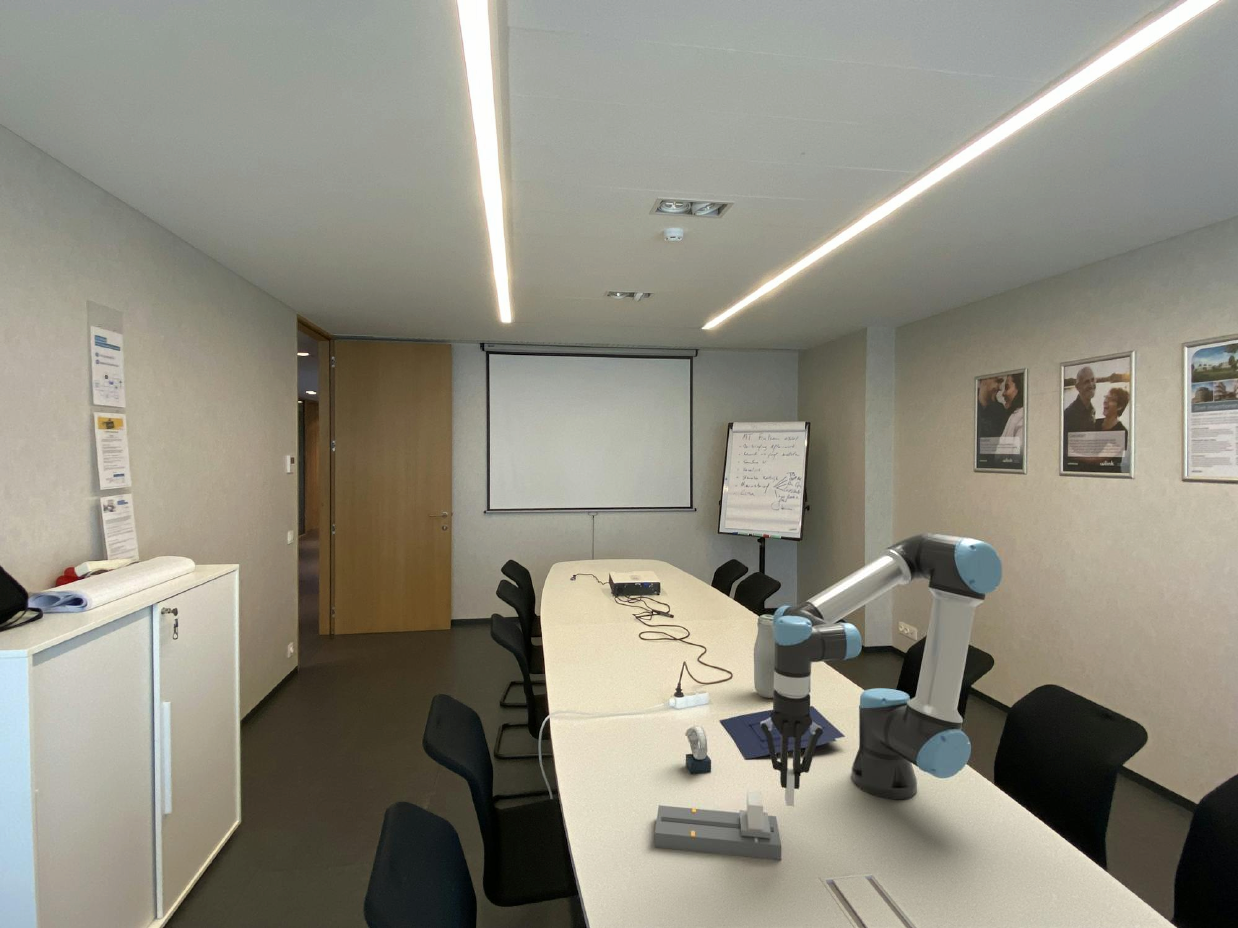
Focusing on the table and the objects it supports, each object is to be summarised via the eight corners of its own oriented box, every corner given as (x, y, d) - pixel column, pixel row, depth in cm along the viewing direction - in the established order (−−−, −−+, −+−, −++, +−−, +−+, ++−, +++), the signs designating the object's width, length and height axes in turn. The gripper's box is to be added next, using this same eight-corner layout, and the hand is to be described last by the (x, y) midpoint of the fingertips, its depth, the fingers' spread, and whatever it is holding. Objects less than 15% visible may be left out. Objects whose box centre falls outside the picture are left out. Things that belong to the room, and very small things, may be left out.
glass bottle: (780, 690, 209) (780, 611, 209) (785, 703, 199) (786, 619, 199) (751, 689, 210) (752, 610, 210) (755, 701, 200) (755, 618, 200)
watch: (702, 759, 162) (703, 719, 162) (713, 775, 154) (713, 733, 154) (683, 762, 161) (683, 721, 161) (692, 777, 153) (693, 735, 153)
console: (775, 829, 132) (776, 815, 132) (781, 859, 122) (781, 844, 122) (658, 818, 136) (658, 804, 136) (654, 846, 126) (654, 831, 126)
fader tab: (767, 817, 131) (767, 789, 131) (770, 838, 124) (770, 808, 124) (739, 815, 132) (739, 787, 132) (741, 835, 125) (741, 805, 125)
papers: (850, 749, 166) (848, 736, 166) (746, 769, 162) (745, 756, 162) (810, 711, 190) (809, 700, 190) (720, 728, 186) (718, 716, 186)
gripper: (820, 687, 129) (818, 795, 129) (758, 682, 131) (756, 789, 131) (827, 701, 121) (824, 816, 122) (761, 695, 123) (759, 809, 124)
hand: (789, 802), depth 126 cm, fingers closed
